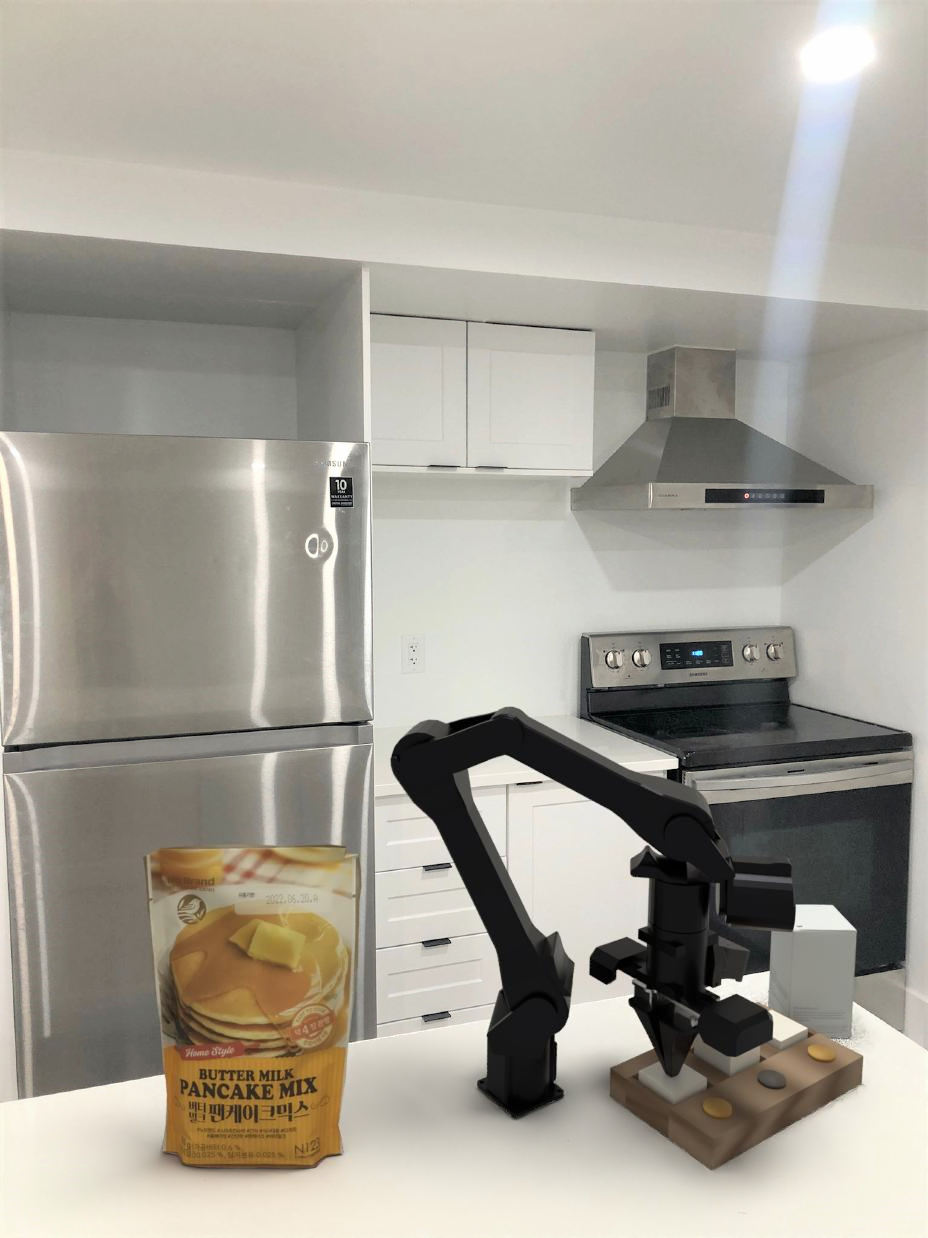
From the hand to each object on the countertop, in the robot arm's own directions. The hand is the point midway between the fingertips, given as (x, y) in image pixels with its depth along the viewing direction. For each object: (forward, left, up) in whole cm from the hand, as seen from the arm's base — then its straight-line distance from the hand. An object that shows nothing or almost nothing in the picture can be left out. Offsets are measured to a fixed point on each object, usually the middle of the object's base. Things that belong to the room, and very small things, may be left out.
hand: (672, 1075), depth 91 cm
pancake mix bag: (-36, +18, -4) cm, 40 cm away
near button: (0, 0, -3) cm, 3 cm away
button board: (+8, -2, -4) cm, 9 cm away
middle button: (+8, 0, -1) cm, 8 cm away
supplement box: (+26, +2, -4) cm, 26 cm away
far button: (+16, 0, -3) cm, 16 cm away
